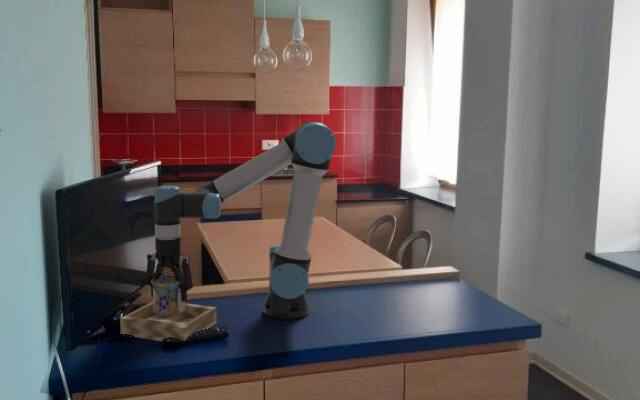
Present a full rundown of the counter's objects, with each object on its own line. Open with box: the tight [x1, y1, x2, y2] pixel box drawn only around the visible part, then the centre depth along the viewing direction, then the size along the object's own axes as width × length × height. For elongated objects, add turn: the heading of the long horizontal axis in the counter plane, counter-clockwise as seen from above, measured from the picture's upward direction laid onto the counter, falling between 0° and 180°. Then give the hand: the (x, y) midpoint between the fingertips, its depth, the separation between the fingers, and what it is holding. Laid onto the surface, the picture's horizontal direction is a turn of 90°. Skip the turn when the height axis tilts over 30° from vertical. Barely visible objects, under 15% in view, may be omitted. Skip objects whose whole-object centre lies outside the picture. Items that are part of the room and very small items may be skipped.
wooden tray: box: [119, 300, 218, 342], centre depth 187 cm, size 22×19×5 cm
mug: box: [151, 274, 180, 316], centre depth 185 cm, size 12×9×11 cm
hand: (169, 309), depth 186 cm, fingers closed on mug, 8 cm apart
